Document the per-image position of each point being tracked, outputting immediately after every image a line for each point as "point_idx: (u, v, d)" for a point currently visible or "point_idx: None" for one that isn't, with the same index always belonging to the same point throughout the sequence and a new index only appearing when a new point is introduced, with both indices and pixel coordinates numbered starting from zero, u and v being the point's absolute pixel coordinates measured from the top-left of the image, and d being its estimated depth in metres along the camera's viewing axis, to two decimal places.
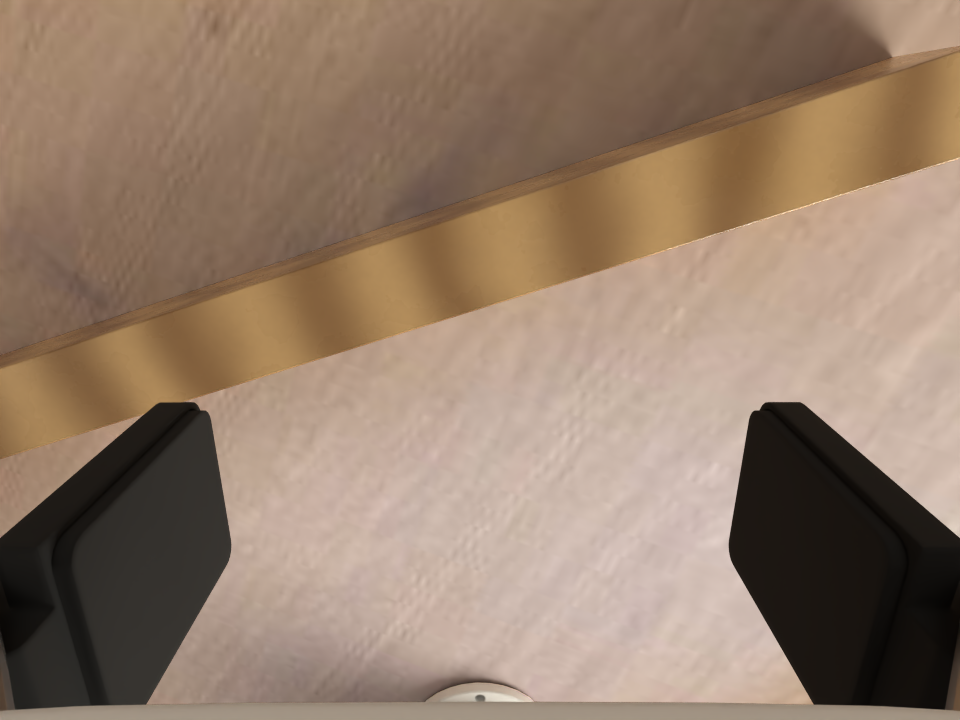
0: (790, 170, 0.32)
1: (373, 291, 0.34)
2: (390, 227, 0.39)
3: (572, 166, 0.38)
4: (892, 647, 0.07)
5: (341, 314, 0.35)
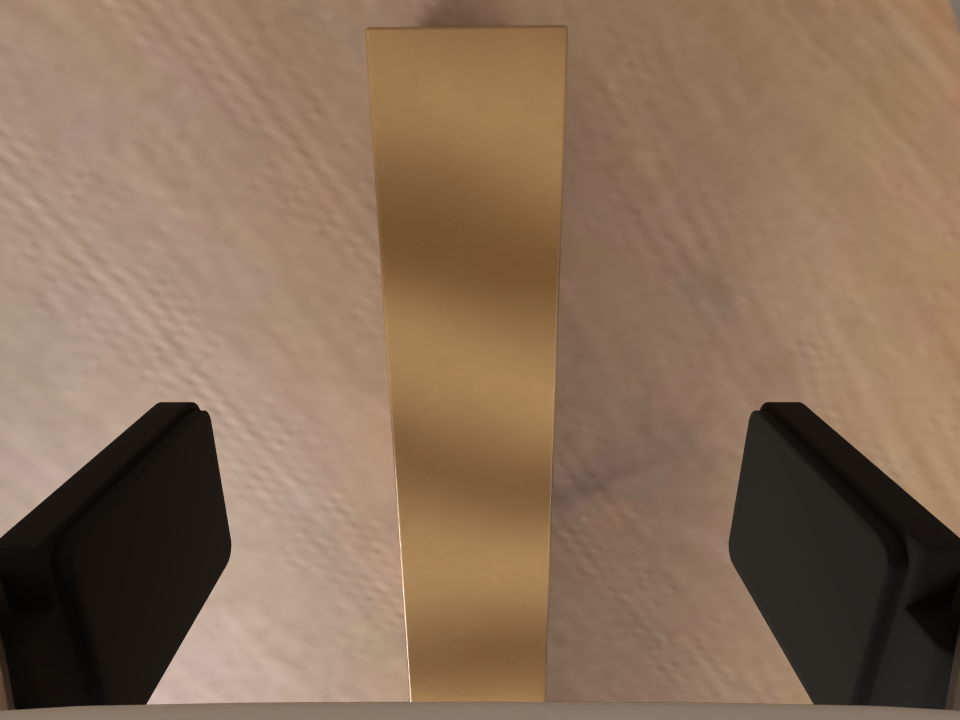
0: None
1: None
2: None
3: None
4: (892, 647, 0.07)
5: None
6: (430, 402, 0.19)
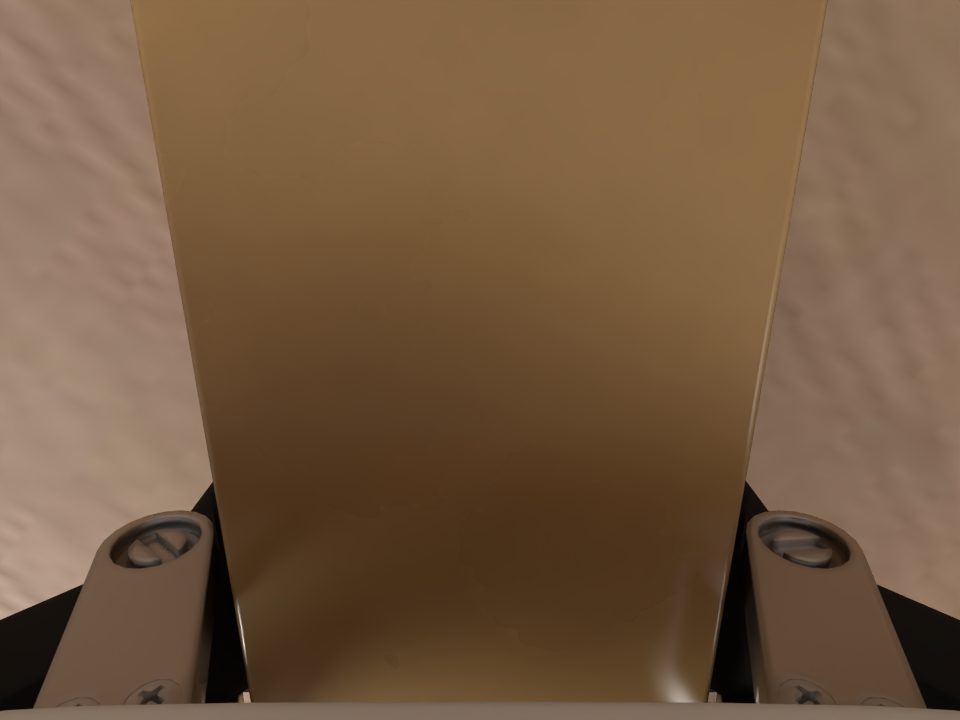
0: None
1: None
2: None
3: None
4: None
5: None
6: None
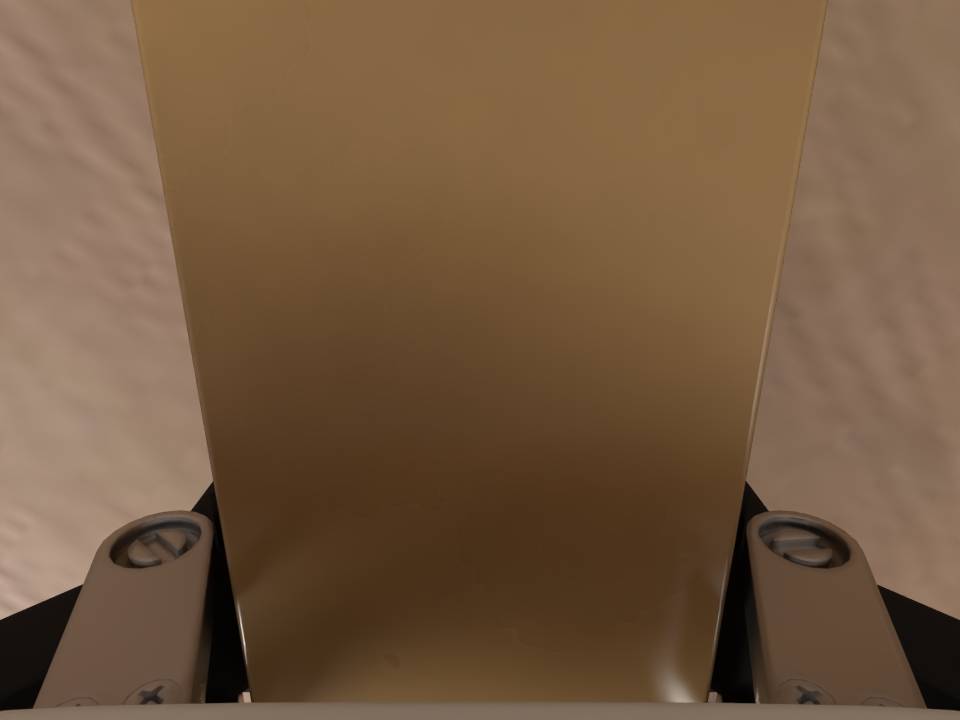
0: None
1: None
2: None
3: None
4: None
5: None
6: None
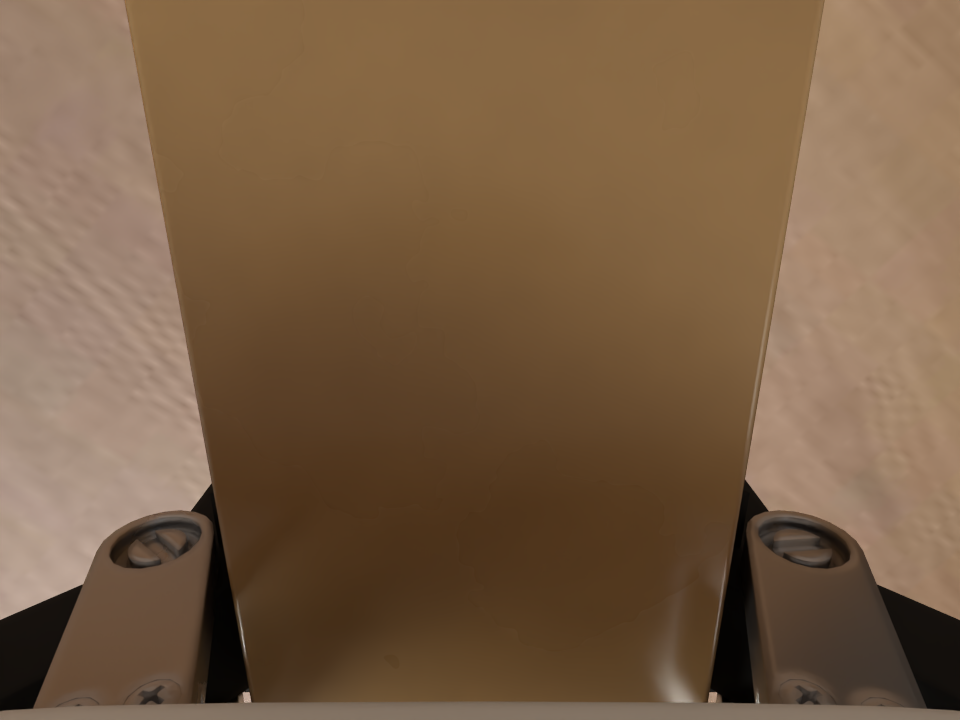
0: None
1: None
2: None
3: None
4: None
5: None
6: None
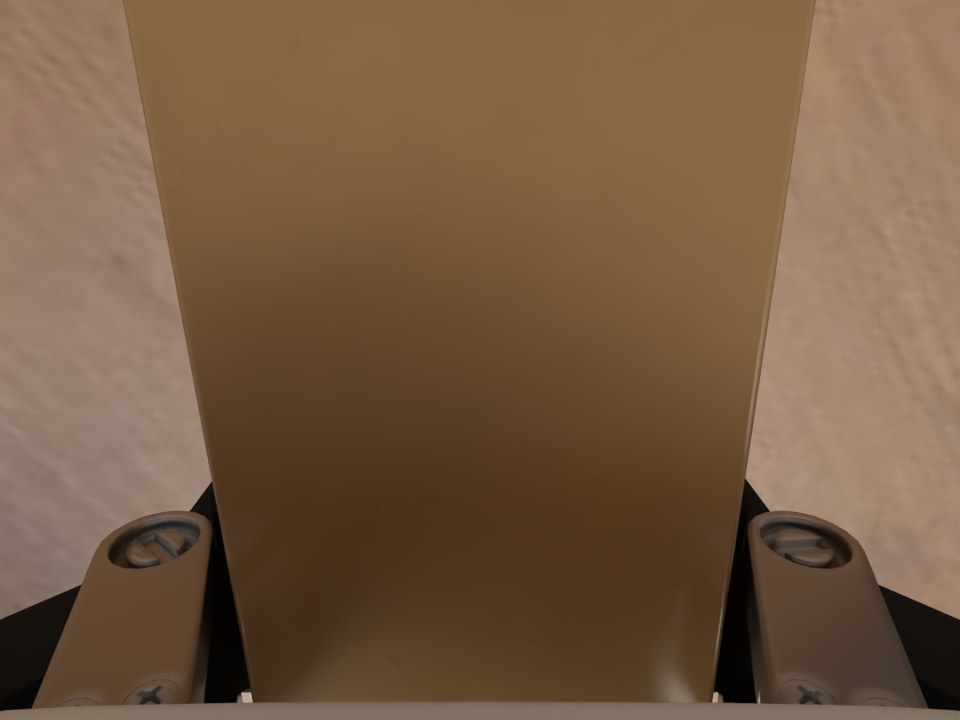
0: None
1: None
2: None
3: None
4: None
5: None
6: None
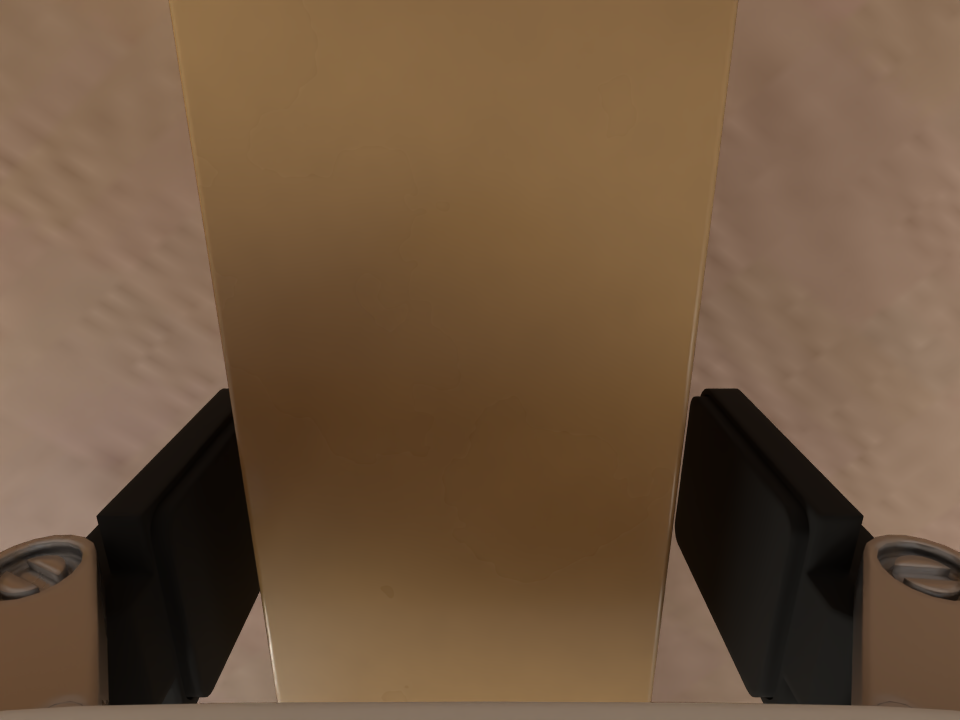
0: None
1: None
2: None
3: None
4: (798, 610, 0.08)
5: None
6: None
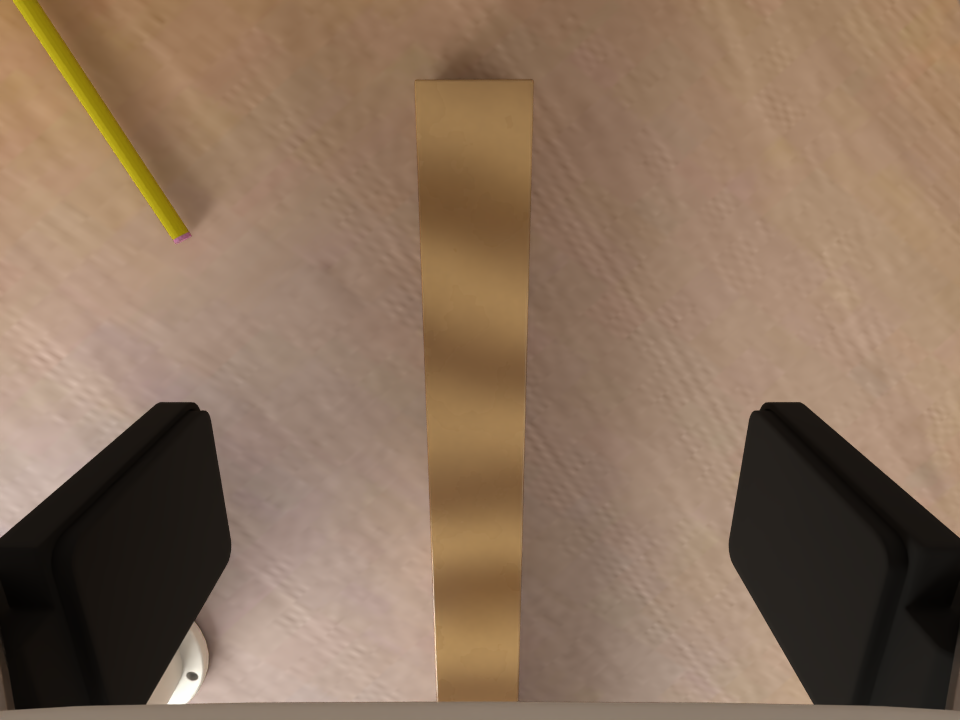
0: None
1: None
2: None
3: None
4: (893, 647, 0.07)
5: None
6: (448, 312, 0.30)
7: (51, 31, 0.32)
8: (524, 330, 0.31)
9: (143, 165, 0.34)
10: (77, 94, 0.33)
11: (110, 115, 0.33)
